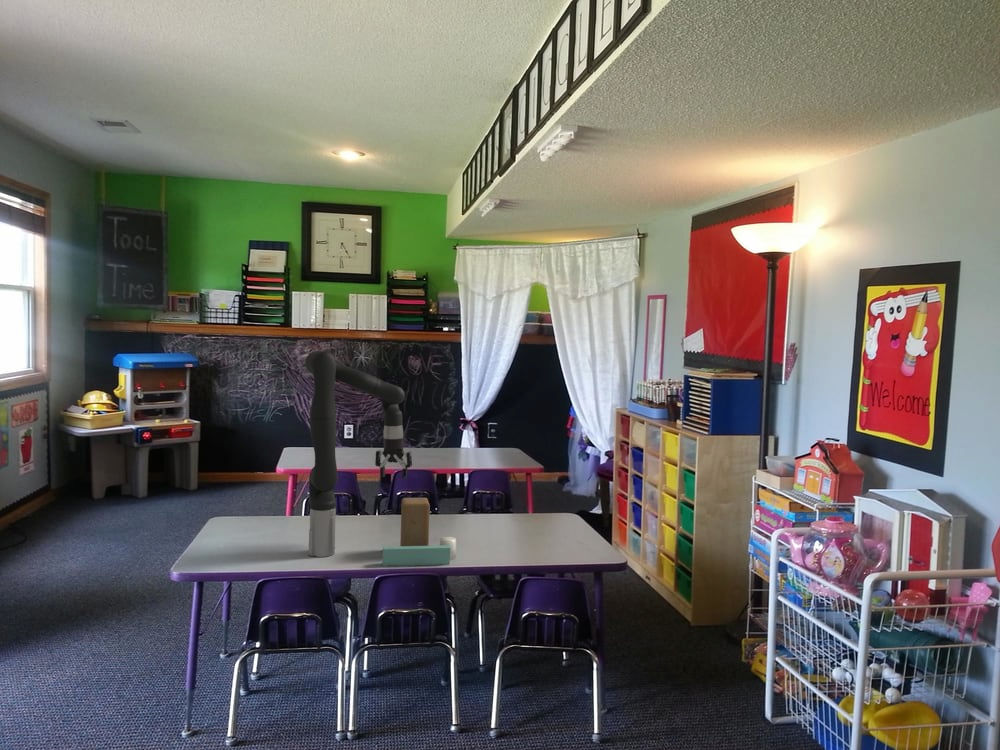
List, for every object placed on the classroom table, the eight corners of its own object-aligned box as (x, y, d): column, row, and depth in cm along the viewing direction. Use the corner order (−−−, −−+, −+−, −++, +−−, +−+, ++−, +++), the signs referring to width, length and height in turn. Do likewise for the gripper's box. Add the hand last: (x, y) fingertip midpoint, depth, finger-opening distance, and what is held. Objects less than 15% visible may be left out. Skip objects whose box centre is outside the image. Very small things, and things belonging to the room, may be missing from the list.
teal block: (382, 565, 248) (382, 549, 247) (382, 563, 250) (382, 546, 250) (449, 564, 252) (450, 547, 252) (448, 561, 255) (449, 545, 254)
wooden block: (401, 556, 258) (403, 503, 257) (400, 548, 268) (401, 497, 267) (428, 556, 260) (430, 503, 259) (426, 547, 270) (427, 497, 269)
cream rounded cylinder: (440, 560, 256) (440, 541, 255) (438, 555, 262) (439, 536, 261) (456, 560, 257) (457, 541, 256) (454, 554, 263) (455, 536, 262)
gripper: (372, 437, 269) (373, 478, 271) (407, 438, 267) (408, 480, 268) (379, 434, 277) (379, 474, 278) (413, 435, 274) (414, 476, 276)
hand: (393, 477), depth 273 cm, fingers open, 8 cm apart
